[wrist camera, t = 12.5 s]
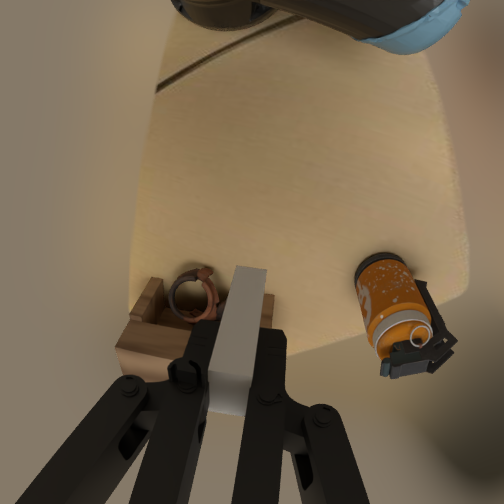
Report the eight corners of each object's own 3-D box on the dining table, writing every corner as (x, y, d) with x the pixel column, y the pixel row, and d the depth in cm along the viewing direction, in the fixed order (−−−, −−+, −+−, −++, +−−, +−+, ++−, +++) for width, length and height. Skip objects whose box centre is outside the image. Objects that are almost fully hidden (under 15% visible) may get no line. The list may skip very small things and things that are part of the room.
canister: (353, 254, 48) (379, 352, 30) (419, 246, 46) (471, 334, 28) (354, 301, 52) (373, 399, 35) (415, 292, 50) (453, 383, 33)
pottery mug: (179, 309, 57) (157, 317, 49) (192, 259, 56) (171, 260, 48) (241, 332, 54) (228, 346, 46) (257, 280, 54) (245, 285, 46)
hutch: (151, 277, 54) (113, 341, 40) (274, 295, 53) (267, 370, 39) (156, 320, 59) (126, 384, 45) (267, 337, 58) (259, 410, 44)
